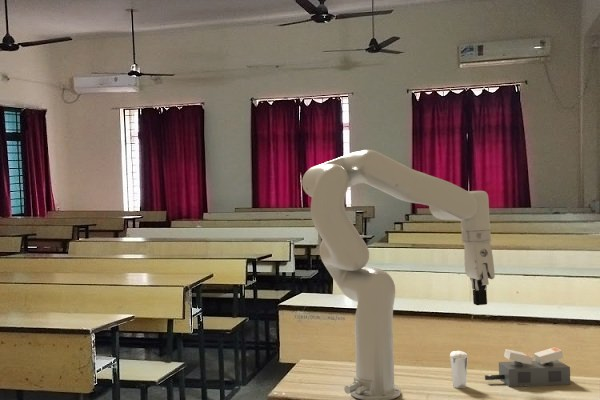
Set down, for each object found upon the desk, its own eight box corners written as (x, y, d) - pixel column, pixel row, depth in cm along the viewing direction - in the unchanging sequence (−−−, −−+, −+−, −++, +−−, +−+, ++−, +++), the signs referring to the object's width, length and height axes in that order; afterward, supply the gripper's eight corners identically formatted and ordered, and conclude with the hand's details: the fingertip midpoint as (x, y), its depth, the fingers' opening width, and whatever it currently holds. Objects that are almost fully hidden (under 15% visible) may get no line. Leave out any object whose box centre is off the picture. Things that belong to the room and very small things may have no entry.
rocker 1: (509, 359, 156) (510, 352, 156) (503, 356, 159) (505, 348, 159) (531, 364, 156) (532, 356, 156) (525, 360, 159) (527, 353, 159)
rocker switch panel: (490, 387, 153) (490, 367, 153) (481, 379, 161) (480, 359, 161) (570, 384, 154) (570, 364, 154) (557, 376, 161) (557, 356, 161)
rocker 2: (541, 364, 156) (539, 356, 156) (535, 360, 159) (533, 353, 159) (563, 357, 156) (561, 350, 156) (556, 354, 160) (554, 347, 160)
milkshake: (472, 389, 152) (471, 350, 152) (450, 388, 153) (449, 349, 153) (471, 384, 157) (470, 346, 157) (450, 383, 158) (449, 345, 158)
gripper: (500, 237, 155) (505, 308, 155) (479, 233, 170) (483, 298, 170) (472, 239, 154) (476, 310, 154) (453, 235, 169) (457, 300, 169)
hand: (480, 304), depth 162 cm, fingers closed
